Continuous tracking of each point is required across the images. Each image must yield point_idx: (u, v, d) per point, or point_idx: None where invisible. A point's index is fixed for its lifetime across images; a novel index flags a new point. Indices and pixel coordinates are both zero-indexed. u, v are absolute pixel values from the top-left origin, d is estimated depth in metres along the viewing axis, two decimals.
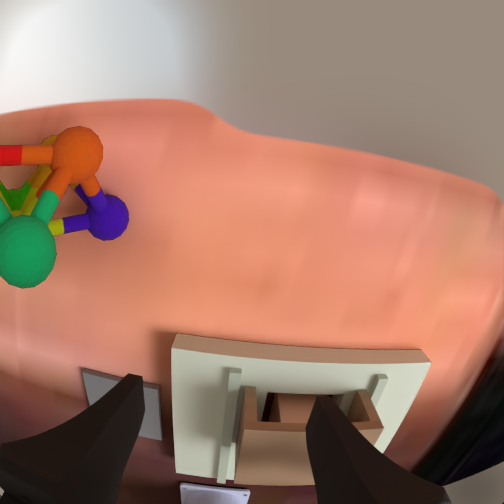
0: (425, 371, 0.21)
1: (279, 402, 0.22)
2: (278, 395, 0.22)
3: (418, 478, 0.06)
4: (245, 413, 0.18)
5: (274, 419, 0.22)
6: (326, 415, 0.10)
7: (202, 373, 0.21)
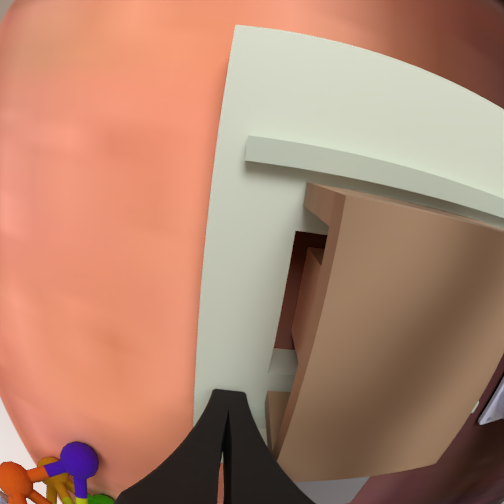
0: (261, 33, 0.09)
1: (297, 354, 0.12)
2: (295, 343, 0.13)
3: (301, 494, 0.06)
4: None
5: None
6: (228, 410, 0.10)
7: None
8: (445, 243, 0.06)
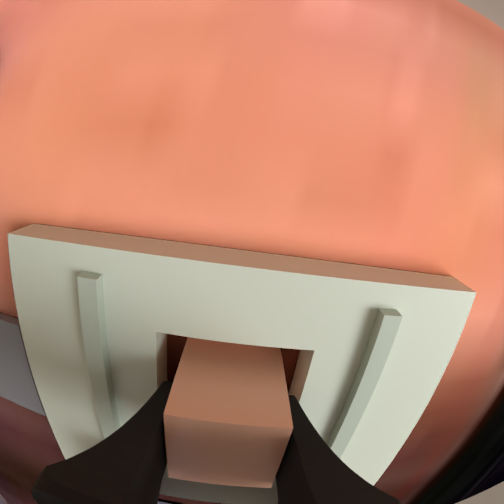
0: (466, 311, 0.11)
1: (182, 358, 0.11)
2: (186, 347, 0.12)
3: (372, 487, 0.06)
4: None
5: None
6: None
7: (48, 284, 0.11)
8: None
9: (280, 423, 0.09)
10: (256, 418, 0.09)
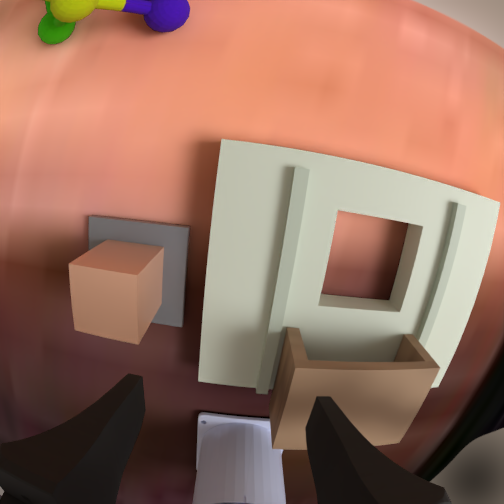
0: (496, 214, 0.17)
1: (94, 247, 0.17)
2: (100, 244, 0.18)
3: (418, 478, 0.06)
4: (293, 352, 0.17)
5: None
6: (326, 415, 0.10)
7: (258, 177, 0.17)
8: (416, 401, 0.16)
9: (131, 273, 0.15)
10: (118, 269, 0.15)
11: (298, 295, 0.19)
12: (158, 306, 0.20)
